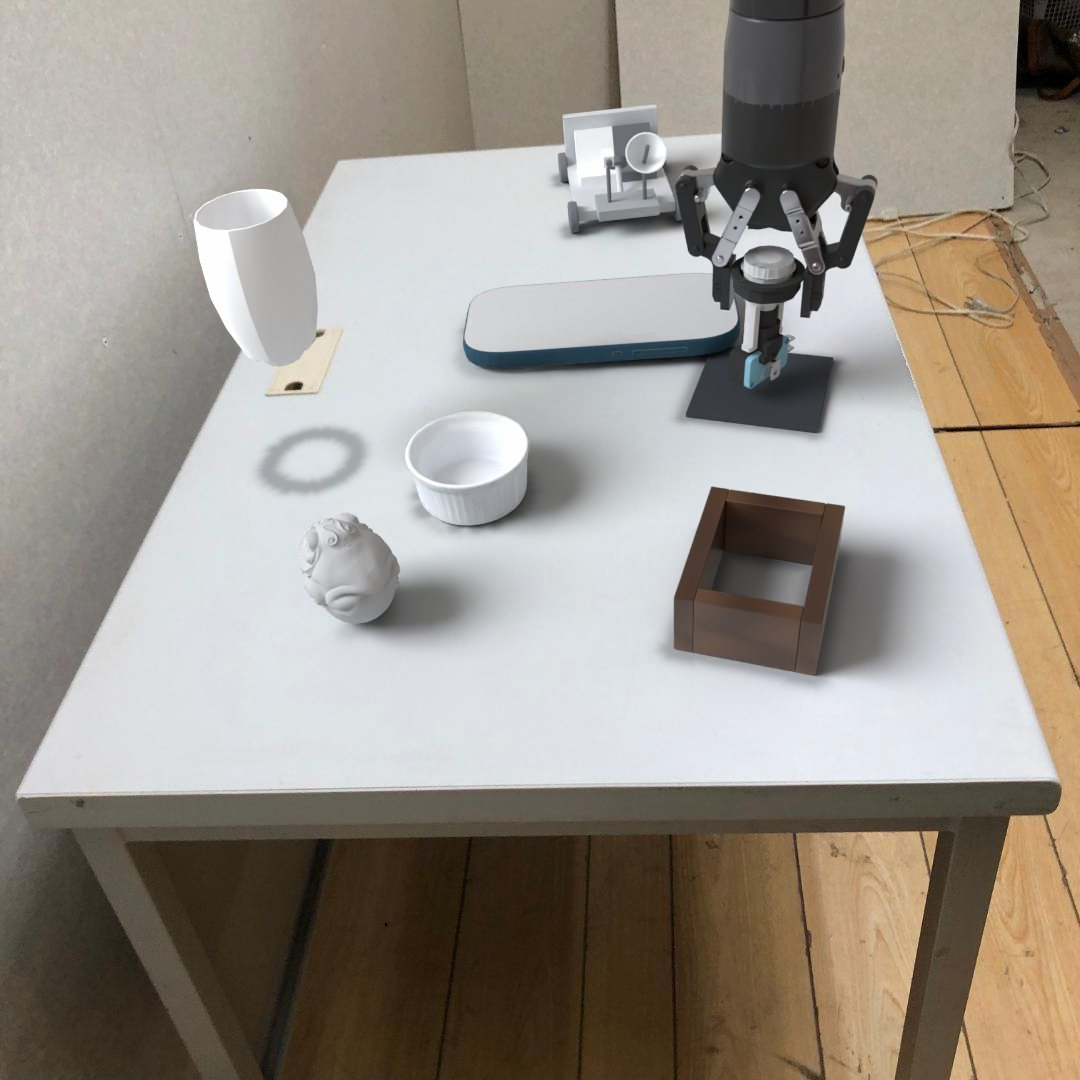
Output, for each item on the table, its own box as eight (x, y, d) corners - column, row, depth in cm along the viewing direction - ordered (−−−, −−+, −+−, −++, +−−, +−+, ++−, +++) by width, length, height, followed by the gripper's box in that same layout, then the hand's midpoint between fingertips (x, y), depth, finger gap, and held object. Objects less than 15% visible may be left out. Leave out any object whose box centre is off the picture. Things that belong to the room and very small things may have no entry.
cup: (367, 430, 86) (307, 182, 72) (349, 487, 80) (281, 232, 66) (280, 432, 86) (204, 188, 72) (257, 490, 81) (170, 238, 67)
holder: (838, 556, 70) (845, 505, 67) (815, 676, 63) (822, 624, 60) (709, 536, 73) (711, 486, 70) (673, 649, 66) (673, 597, 63)
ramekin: (546, 461, 81) (542, 414, 78) (516, 539, 74) (510, 491, 71) (436, 451, 83) (428, 405, 80) (398, 526, 76) (387, 479, 73)
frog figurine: (367, 561, 74) (346, 484, 69) (430, 610, 70) (412, 531, 65) (294, 608, 71) (267, 530, 66) (355, 662, 67) (331, 583, 62)
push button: (764, 340, 87) (774, 226, 80) (818, 364, 84) (833, 248, 77) (710, 374, 84) (716, 259, 77) (764, 401, 81) (775, 283, 74)
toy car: (690, 139, 98) (566, 153, 99) (690, 237, 105) (573, 250, 105) (661, 72, 112) (552, 85, 112) (662, 163, 118) (559, 175, 119)
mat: (833, 361, 87) (833, 357, 87) (815, 433, 80) (816, 428, 80) (712, 348, 90) (712, 344, 90) (685, 416, 83) (685, 412, 83)
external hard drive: (730, 289, 96) (730, 269, 95) (743, 358, 88) (744, 337, 86) (473, 307, 99) (470, 288, 97) (461, 376, 90) (458, 356, 89)
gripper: (659, 95, 68) (661, 325, 80) (891, 103, 64) (859, 345, 76) (685, 55, 74) (684, 277, 85) (902, 60, 69) (870, 292, 81)
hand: (766, 307), depth 80 cm, fingers closed on push button, 5 cm apart
